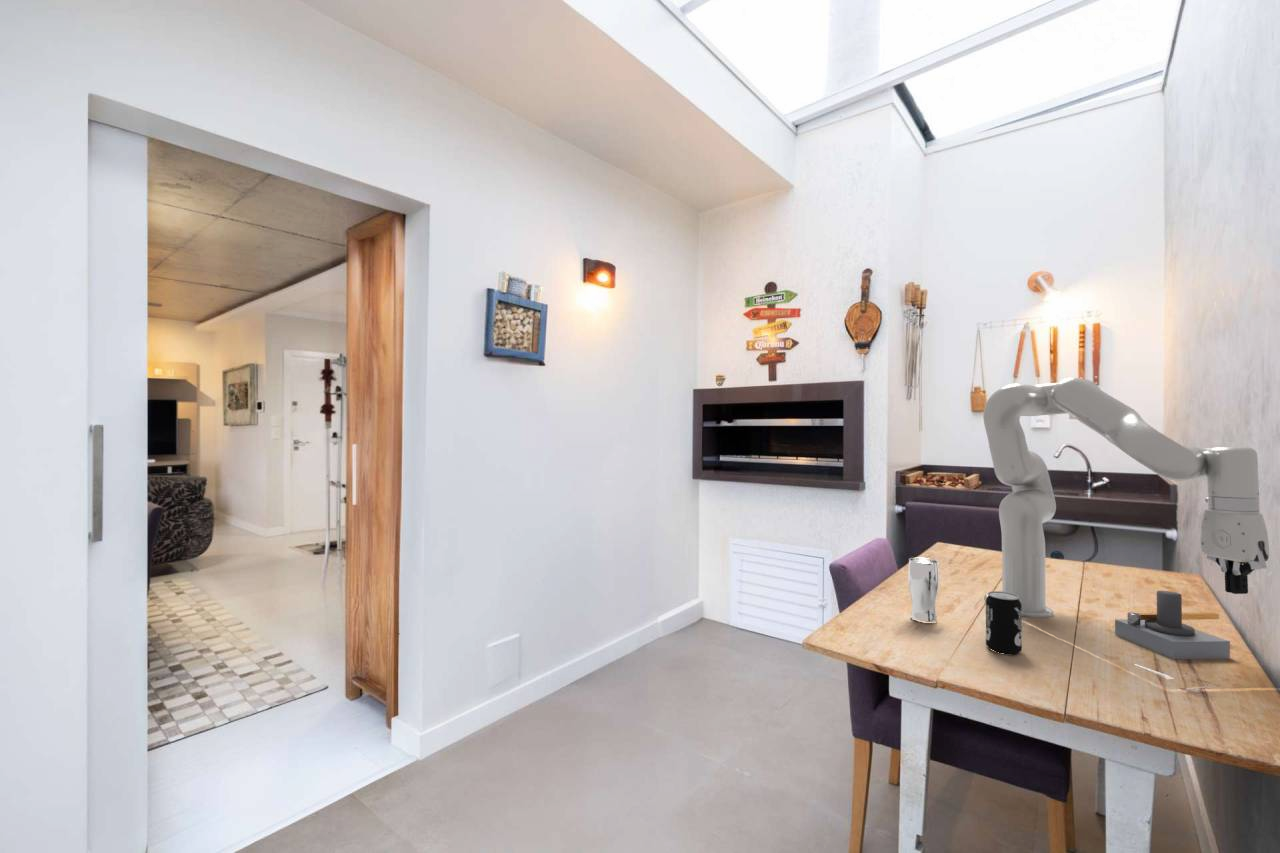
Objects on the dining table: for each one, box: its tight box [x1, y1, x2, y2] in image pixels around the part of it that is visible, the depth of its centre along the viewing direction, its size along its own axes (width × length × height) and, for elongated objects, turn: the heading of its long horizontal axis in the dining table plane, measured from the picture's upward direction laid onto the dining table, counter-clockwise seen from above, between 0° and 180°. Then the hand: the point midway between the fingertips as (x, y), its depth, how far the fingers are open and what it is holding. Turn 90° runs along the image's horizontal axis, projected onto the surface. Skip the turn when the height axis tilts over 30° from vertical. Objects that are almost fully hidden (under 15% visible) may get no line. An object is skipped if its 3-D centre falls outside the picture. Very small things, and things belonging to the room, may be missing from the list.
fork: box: [1133, 663, 1211, 691], centre depth 113 cm, size 3×20×2 cm, turn 8°
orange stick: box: [1126, 611, 1220, 625], centre depth 128 cm, size 20×2×2 cm, turn 92°
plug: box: [1145, 590, 1196, 636], centre depth 125 cm, size 8×8×12 cm
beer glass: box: [907, 557, 940, 622], centre depth 144 cm, size 7×7×15 cm
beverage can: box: [985, 590, 1023, 656], centre depth 124 cm, size 7×7×12 cm
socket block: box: [1114, 618, 1231, 660], centre depth 125 cm, size 12×14×4 cm
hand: (1236, 592), depth 120 cm, fingers closed
